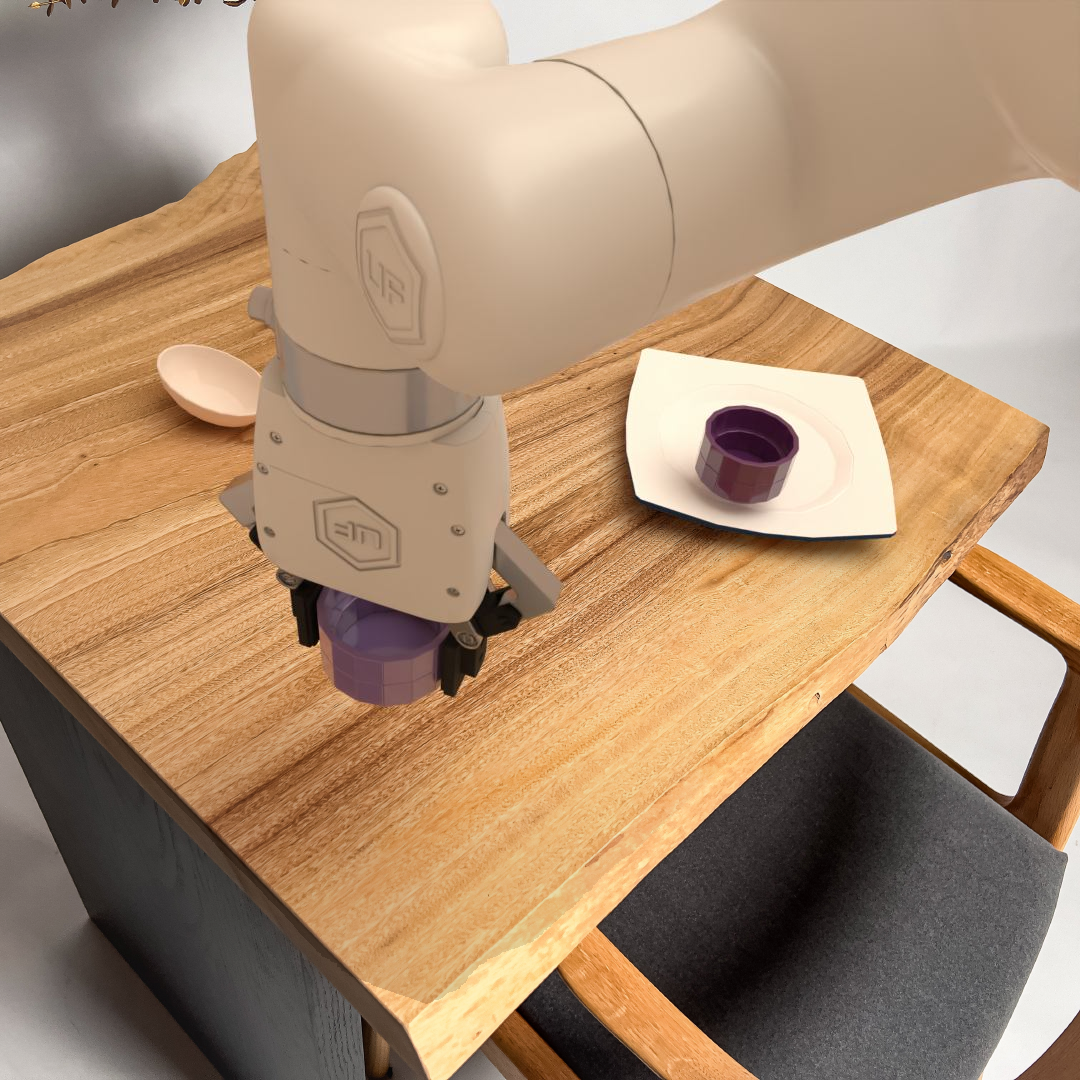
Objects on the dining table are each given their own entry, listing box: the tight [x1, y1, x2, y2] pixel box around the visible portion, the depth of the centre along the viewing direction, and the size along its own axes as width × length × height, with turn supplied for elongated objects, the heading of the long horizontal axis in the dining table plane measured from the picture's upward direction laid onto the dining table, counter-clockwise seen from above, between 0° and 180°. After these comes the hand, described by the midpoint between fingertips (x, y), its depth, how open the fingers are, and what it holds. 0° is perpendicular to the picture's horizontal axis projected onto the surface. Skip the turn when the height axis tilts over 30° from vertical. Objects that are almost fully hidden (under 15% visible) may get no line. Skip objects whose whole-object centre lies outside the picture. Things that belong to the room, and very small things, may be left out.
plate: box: [624, 347, 898, 543], centre depth 77 cm, size 20×20×3 cm
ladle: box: [156, 343, 262, 428], centre depth 73 cm, size 6×28×5 cm, turn 61°
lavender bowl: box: [316, 586, 450, 708], centre depth 48 cm, size 7×7×4 cm
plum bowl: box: [695, 405, 799, 504], centre depth 71 cm, size 7×7×4 cm
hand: (389, 647), depth 49 cm, fingers closed on lavender bowl, 6 cm apart
